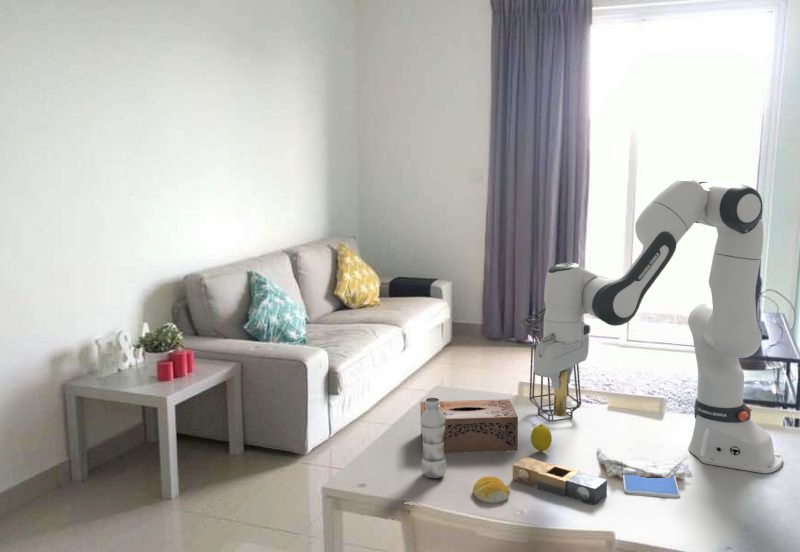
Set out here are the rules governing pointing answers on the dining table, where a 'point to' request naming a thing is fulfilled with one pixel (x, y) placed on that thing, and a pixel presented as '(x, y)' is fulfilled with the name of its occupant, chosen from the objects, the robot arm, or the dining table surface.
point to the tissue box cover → (478, 426)
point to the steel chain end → (580, 488)
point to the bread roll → (491, 490)
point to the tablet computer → (651, 486)
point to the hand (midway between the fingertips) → (560, 386)
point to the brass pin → (561, 395)
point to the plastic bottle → (433, 439)
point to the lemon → (541, 438)
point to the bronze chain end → (541, 473)
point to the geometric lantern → (548, 377)
